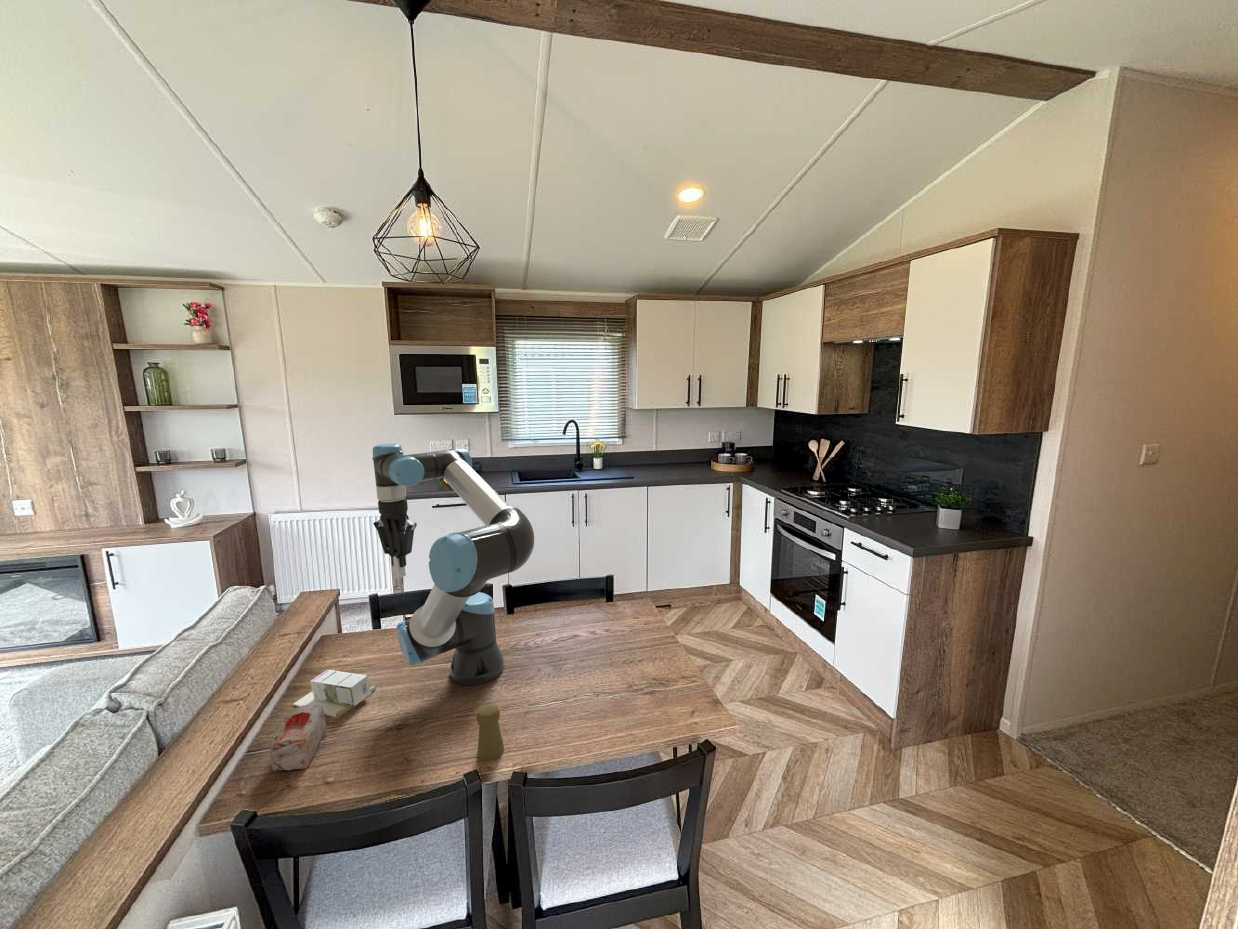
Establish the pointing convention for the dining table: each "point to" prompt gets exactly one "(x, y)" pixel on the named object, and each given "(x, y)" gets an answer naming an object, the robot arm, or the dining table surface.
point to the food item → (298, 738)
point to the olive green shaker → (489, 733)
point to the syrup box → (340, 687)
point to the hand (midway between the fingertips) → (400, 576)
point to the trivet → (327, 705)
